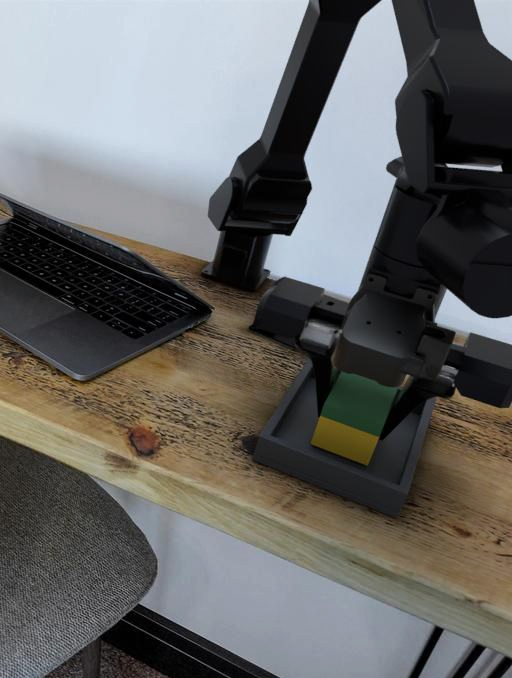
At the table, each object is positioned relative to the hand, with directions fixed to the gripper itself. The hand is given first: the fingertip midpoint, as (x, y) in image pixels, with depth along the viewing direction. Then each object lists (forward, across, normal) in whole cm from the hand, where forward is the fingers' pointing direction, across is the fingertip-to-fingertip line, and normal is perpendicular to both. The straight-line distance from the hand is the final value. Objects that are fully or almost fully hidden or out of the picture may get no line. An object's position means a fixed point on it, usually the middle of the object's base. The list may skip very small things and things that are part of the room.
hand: (350, 426), depth 68 cm
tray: (+2, 0, 0) cm, 2 cm away
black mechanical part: (+2, -6, +16) cm, 17 cm away
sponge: (+1, 0, 0) cm, 1 cm away
